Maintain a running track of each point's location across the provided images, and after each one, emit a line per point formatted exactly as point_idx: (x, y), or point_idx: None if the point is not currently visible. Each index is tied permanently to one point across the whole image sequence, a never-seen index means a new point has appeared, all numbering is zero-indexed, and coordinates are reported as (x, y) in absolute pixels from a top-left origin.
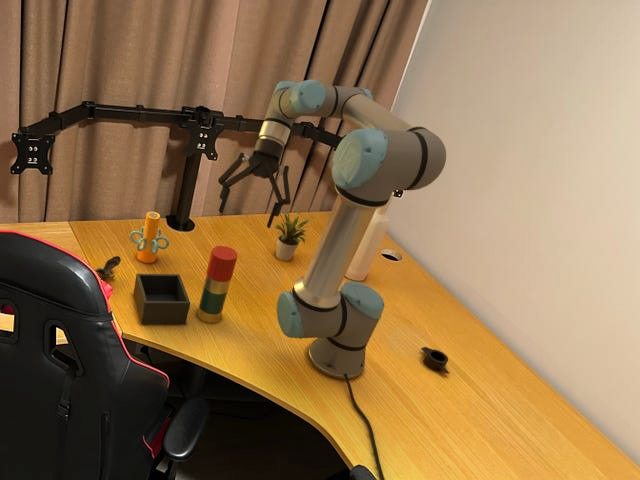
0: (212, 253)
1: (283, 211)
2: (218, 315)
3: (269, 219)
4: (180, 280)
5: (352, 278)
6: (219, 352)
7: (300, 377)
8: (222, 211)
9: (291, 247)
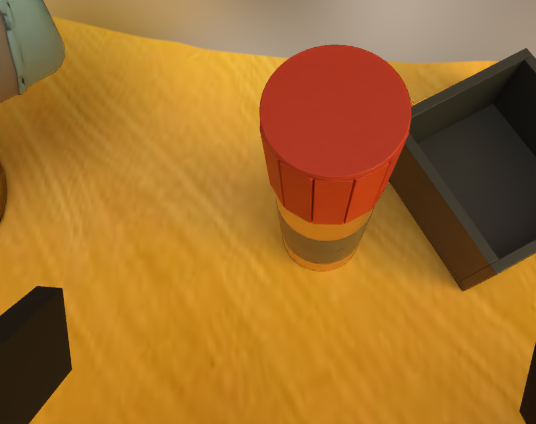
0: (396, 74)
1: None
2: None
3: (22, 319)
4: (475, 232)
5: None
6: (250, 92)
7: (32, 101)
8: (531, 395)
9: None
